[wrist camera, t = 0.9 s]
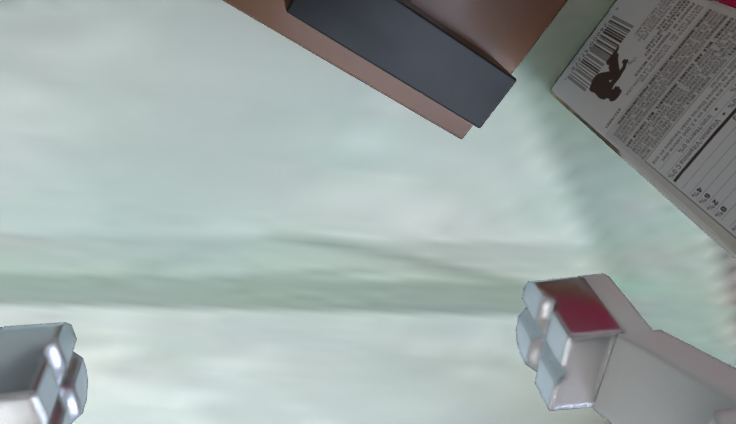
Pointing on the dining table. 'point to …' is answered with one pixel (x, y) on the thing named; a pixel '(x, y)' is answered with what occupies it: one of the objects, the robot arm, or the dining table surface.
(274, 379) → the dining table surface
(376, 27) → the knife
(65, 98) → the dining table surface
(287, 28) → the cutting board
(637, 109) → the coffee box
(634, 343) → the robot arm
